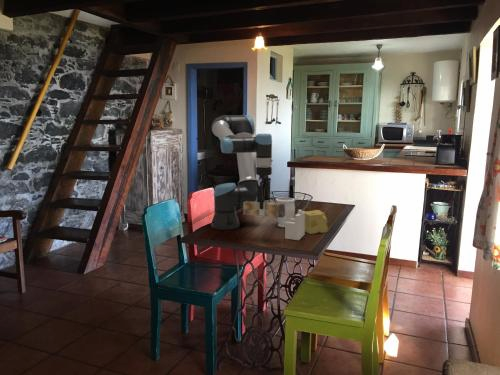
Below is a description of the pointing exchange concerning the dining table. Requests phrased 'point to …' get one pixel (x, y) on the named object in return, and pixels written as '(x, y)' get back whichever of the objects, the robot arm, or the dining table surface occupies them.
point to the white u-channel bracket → (295, 226)
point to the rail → (270, 209)
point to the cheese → (315, 222)
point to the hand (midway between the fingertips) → (263, 214)
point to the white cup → (286, 210)
